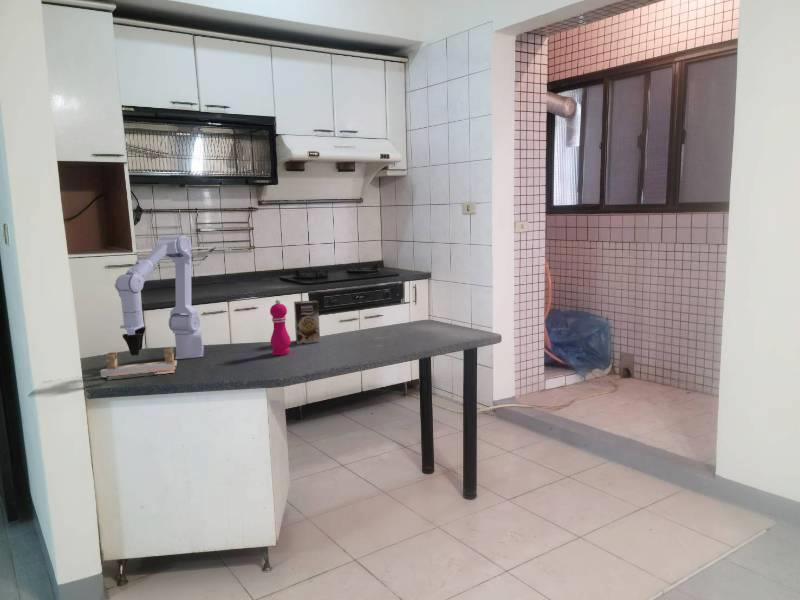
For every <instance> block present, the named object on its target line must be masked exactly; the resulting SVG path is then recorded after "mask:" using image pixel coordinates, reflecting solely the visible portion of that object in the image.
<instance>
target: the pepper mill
mask: <svg viewBox="0 0 800 600" xmlns="http://www.w3.org/2000/svg"><path fill="white" fill-rule="evenodd" d="M274 302H275V303H274V304H273V305H272V306H271V307H270V310H269V313H270V316H272V317H271V322H272V323H273V331H272V334H271V337H270V346H271V347H272V348H273V349H272V355H273V356H275V355H283V356H286V355H285V354H288V353H290V354H291V348H290V345H291V342H292V340H291V337H290V335H289V333H288V330H287V328H286V321H287V317H286V315H287V314H288V310H287V307H286V305H285V304H283V303H281V300H280V299H276V300H275V301H274ZM288 355H289V354H288Z"/></svg>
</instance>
